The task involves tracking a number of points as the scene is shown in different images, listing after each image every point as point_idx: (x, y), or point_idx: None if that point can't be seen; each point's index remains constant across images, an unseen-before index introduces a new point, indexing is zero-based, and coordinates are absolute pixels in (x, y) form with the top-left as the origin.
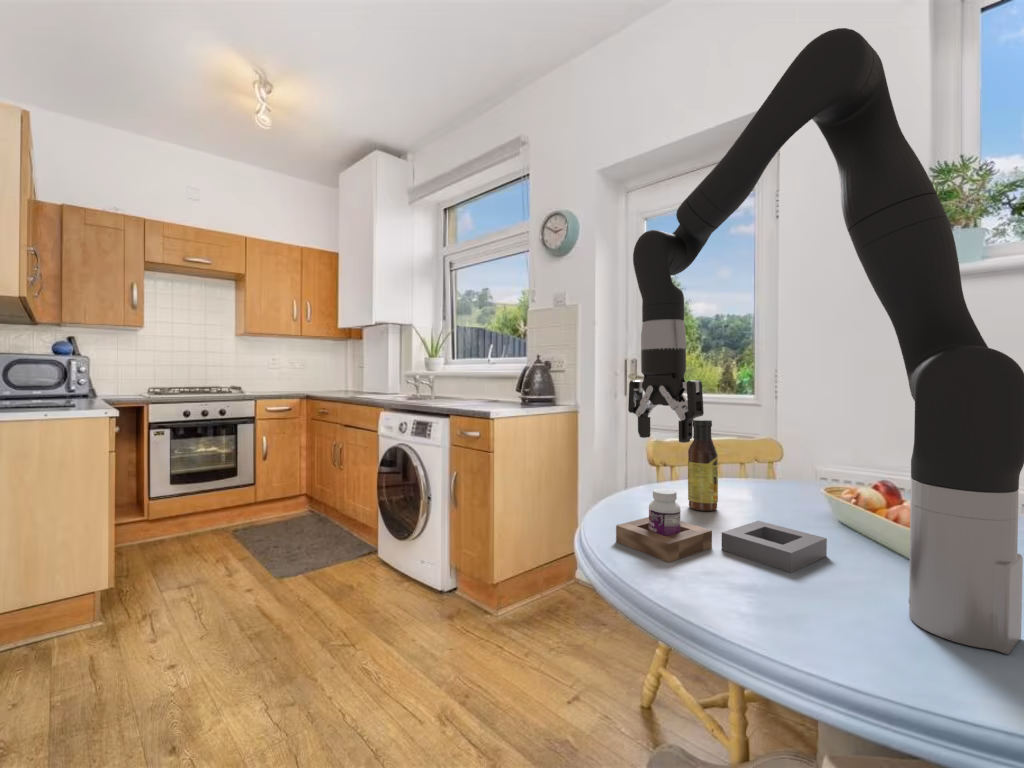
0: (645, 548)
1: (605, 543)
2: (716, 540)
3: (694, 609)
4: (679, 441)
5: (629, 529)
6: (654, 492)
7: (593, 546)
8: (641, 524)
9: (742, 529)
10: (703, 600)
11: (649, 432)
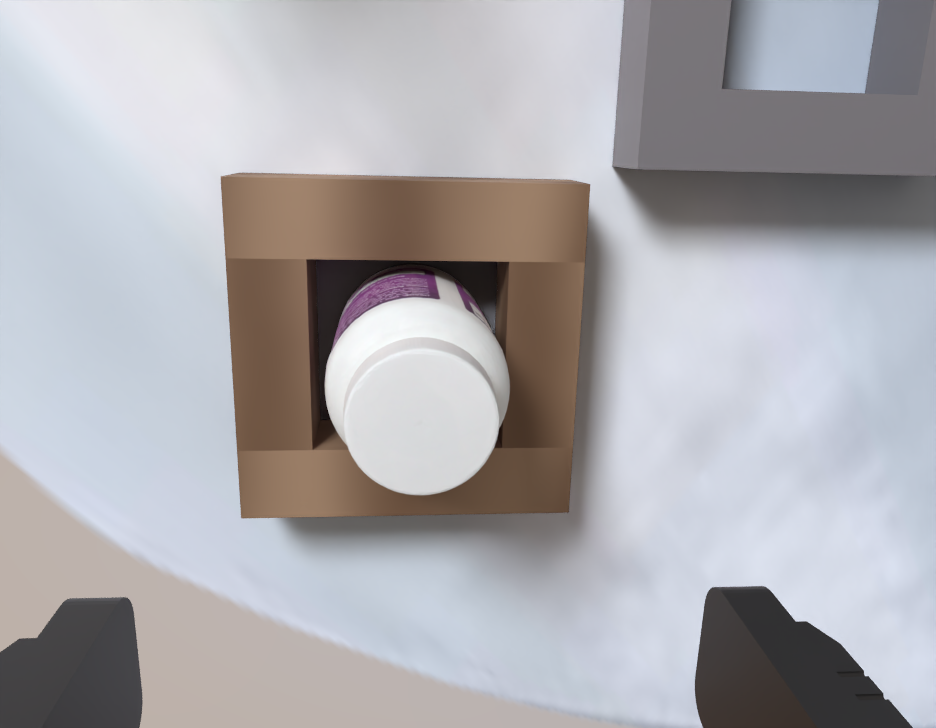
0: None
1: (244, 531)
2: (526, 57)
3: None
4: (700, 704)
5: (329, 512)
6: (393, 489)
7: (245, 594)
8: (306, 407)
9: (687, 24)
10: None
11: (106, 636)
